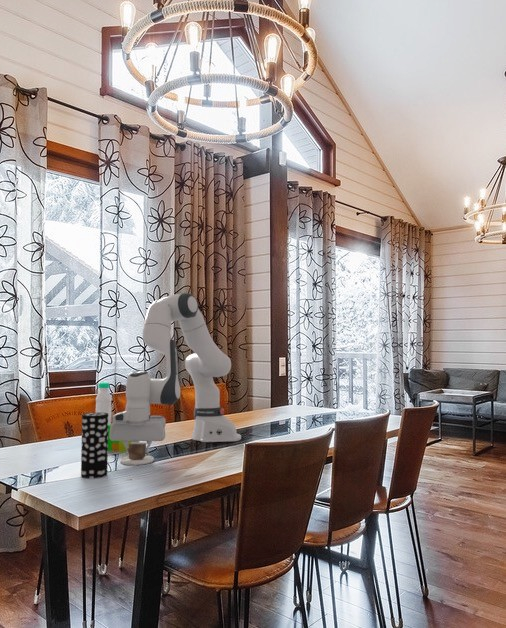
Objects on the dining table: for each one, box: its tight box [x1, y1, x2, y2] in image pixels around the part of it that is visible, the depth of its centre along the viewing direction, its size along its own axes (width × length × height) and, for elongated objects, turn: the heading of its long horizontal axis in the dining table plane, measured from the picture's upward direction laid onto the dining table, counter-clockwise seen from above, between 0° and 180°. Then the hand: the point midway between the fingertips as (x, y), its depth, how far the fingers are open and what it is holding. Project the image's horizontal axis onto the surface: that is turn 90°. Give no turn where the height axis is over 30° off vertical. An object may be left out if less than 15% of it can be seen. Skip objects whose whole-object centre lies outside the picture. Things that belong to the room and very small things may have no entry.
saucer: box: [119, 454, 155, 466], centre depth 191 cm, size 12×12×1 cm
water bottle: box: [95, 382, 112, 425], centre depth 239 cm, size 7×7×25 cm
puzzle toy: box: [108, 423, 141, 453], centre depth 214 cm, size 10×10×10 cm
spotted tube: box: [80, 412, 109, 480], centre depth 172 cm, size 8×8×20 cm
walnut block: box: [128, 441, 147, 459], centre depth 191 cm, size 5×5×5 cm
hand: (137, 453), depth 191 cm, fingers closed on walnut block, 5 cm apart
